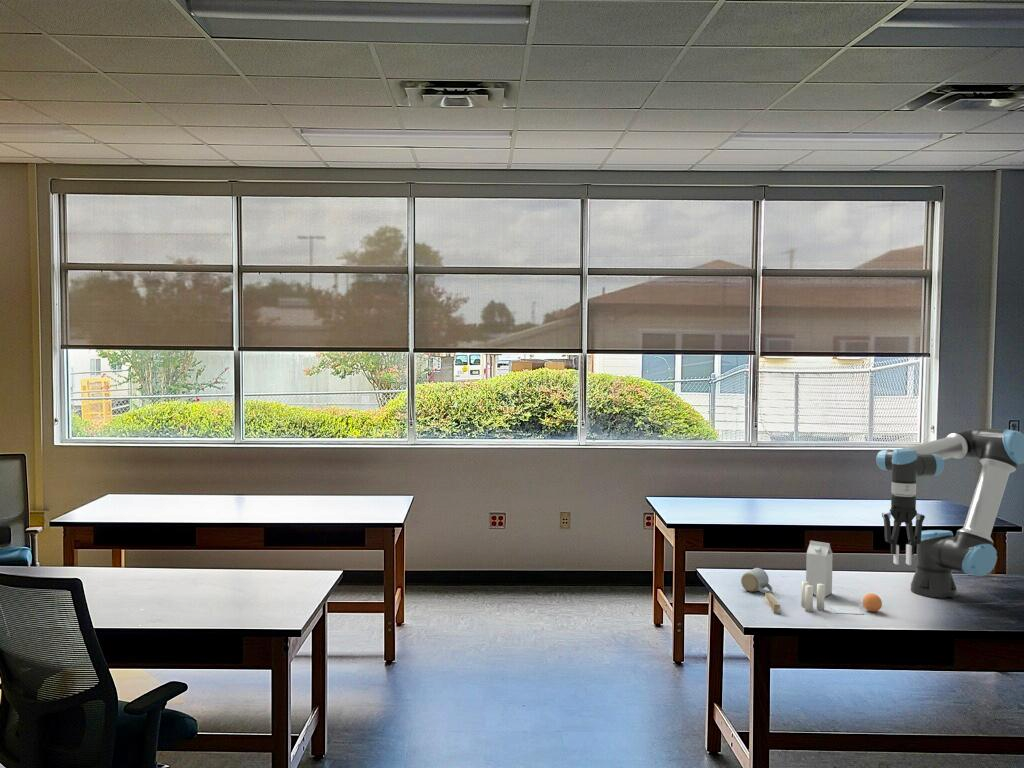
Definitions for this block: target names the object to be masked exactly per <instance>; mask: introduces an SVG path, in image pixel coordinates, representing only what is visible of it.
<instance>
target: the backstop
mask: <svg viewBox="0 0 1024 768" xmlns="http://www.w3.org/2000/svg"><path fill="white" fill-rule="evenodd" d="M765 601H766V602H765ZM764 602H765V603H766V605H767V604H768V605H767V606H768V607H769V609H770V608H771V609H770V610H771V612H772V613H773V612H774V613H773V614H775V613H778V615H779V614H781V603H779V601H778V600H777V599H776V597H775V596H774V595H773V594H772V592H771V593H765V594H764Z"/></svg>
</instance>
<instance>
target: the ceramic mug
mask: <svg viewBox="0 0 1024 768" xmlns="http://www.w3.org/2000/svg"><path fill="white" fill-rule="evenodd" d="M769 581H770V579H769V576H768V574H767V572H766V571H765V570H764V569H763V568H759V567H754V568H753V569H750V570H748V571H746V572H745V573H744V574H743V575H742V576H741V579H740V582H741V586H742V587H743V589H744V590H745V591H747V592H751V593H753V592H754V593H755V592H758V591H759V592H760V593H762V594H764V593H771V594H772V592H773V586H772V585H770V584H769ZM765 588H766V589H765ZM767 589H768V590H767Z"/></svg>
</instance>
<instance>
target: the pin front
mask: <svg viewBox="0 0 1024 768" xmlns="http://www.w3.org/2000/svg"><path fill="white" fill-rule="evenodd" d="M824 594H825V585H824V584H817V595H816V610H817V609H818V610H817V611H825V597H824Z"/></svg>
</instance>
